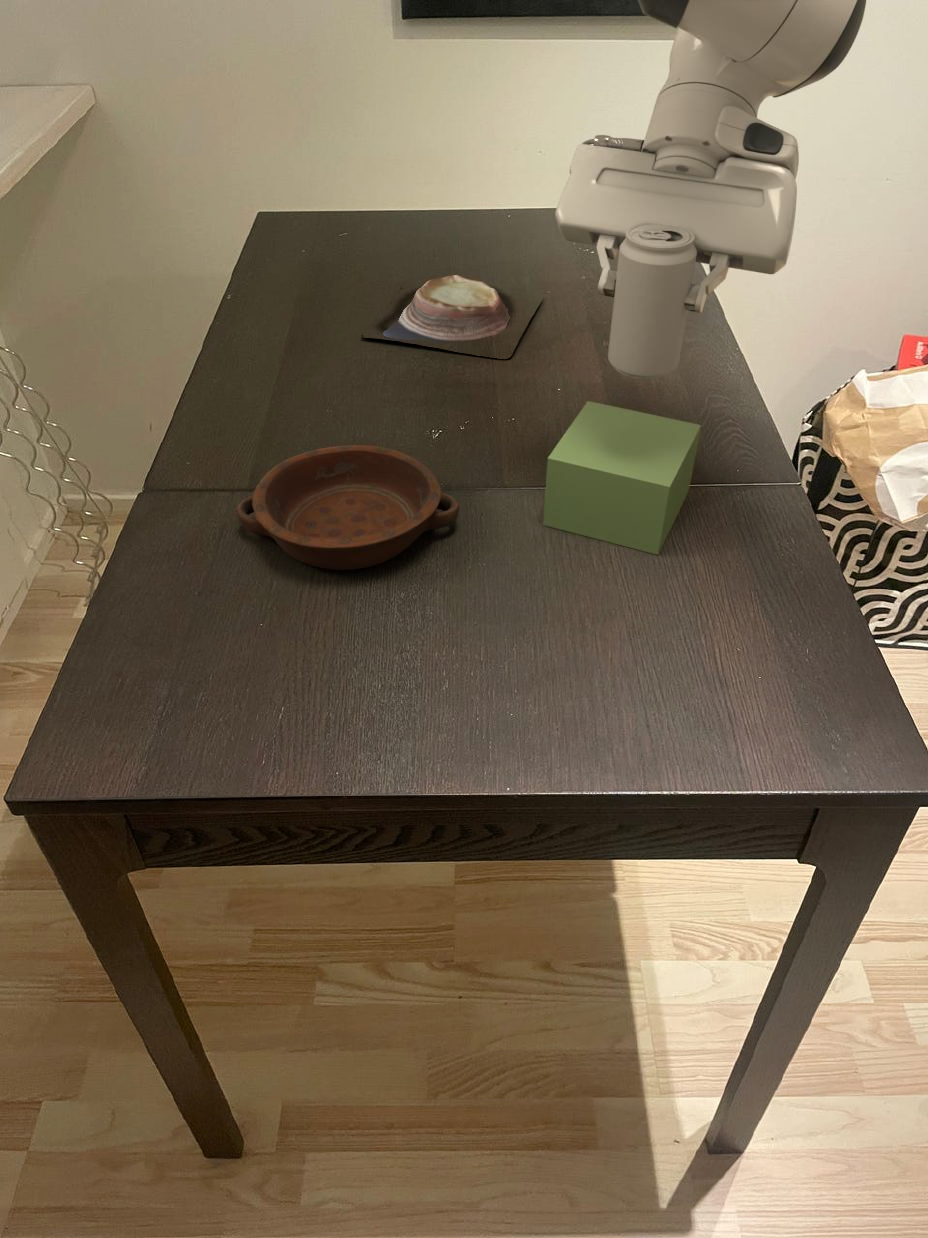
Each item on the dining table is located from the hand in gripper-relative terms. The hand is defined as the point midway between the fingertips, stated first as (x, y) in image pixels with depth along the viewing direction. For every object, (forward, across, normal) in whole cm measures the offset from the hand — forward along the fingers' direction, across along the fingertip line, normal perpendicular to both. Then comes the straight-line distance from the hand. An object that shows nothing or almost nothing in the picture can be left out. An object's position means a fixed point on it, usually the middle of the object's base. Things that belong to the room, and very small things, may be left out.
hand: (649, 301), depth 82 cm
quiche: (-9, -35, +42) cm, 55 cm away
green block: (+15, -1, +18) cm, 23 cm away
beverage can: (+4, 0, +5) cm, 7 cm away
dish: (+26, -24, +7) cm, 36 cm away
